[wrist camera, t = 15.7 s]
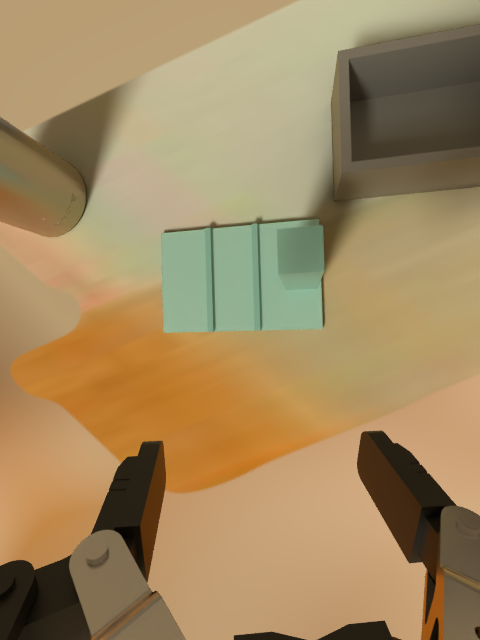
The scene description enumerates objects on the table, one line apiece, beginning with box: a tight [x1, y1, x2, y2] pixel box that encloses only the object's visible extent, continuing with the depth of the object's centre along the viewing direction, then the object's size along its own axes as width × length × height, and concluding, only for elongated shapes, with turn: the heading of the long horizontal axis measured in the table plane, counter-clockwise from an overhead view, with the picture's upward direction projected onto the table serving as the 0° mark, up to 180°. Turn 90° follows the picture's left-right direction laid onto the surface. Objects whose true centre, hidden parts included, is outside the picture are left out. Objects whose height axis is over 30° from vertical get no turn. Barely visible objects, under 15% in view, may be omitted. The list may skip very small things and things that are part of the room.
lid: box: [161, 219, 324, 333], centre depth 27 cm, size 17×11×12 cm, turn 92°
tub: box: [331, 24, 480, 201], centre depth 26 cm, size 16×10×6 cm, turn 92°
